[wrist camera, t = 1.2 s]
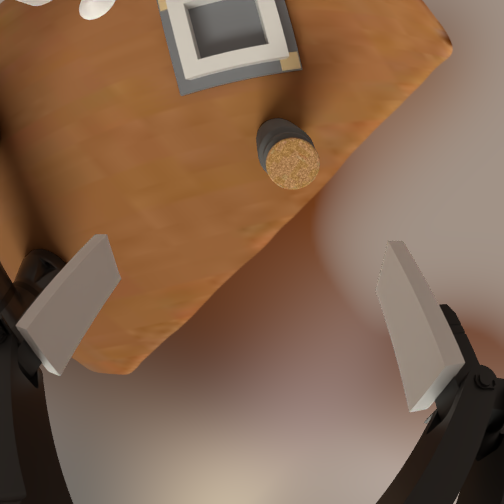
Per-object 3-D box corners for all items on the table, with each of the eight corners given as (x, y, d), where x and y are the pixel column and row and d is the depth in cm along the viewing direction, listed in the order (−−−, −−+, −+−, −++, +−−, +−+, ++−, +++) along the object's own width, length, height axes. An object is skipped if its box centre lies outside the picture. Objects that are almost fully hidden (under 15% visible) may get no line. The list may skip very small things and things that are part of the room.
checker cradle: (182, 95, 33) (175, 96, 30) (158, -1, 25) (149, -9, 22) (301, 70, 31) (306, 67, 28) (274, -28, 23) (276, -39, 20)
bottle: (247, 135, 36) (245, 159, 23) (281, 109, 34) (299, 118, 21) (274, 167, 39) (286, 208, 26) (307, 142, 37) (338, 170, 24)
